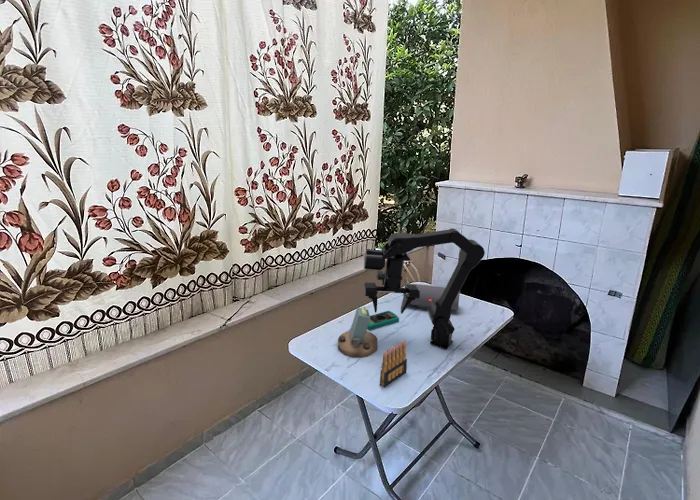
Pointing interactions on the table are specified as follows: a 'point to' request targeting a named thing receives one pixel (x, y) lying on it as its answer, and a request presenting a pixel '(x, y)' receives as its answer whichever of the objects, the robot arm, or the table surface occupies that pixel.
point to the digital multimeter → (382, 320)
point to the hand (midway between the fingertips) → (388, 312)
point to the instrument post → (360, 324)
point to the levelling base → (357, 345)
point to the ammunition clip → (393, 364)
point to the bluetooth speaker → (431, 296)
